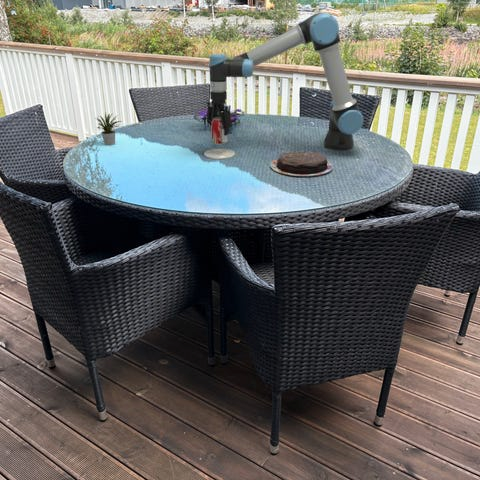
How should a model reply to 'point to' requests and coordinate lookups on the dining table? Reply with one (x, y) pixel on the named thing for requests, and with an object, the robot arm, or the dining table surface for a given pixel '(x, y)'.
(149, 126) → the dining table surface
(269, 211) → the dining table surface
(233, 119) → the drone
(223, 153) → the coaster
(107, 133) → the house plant
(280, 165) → the chocolate cake
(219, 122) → the soda can
